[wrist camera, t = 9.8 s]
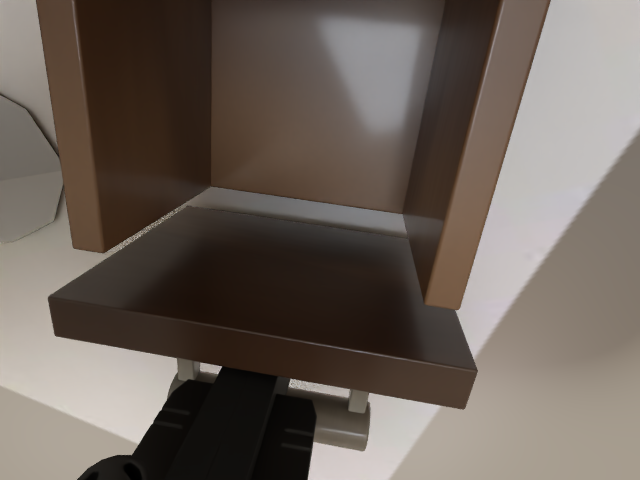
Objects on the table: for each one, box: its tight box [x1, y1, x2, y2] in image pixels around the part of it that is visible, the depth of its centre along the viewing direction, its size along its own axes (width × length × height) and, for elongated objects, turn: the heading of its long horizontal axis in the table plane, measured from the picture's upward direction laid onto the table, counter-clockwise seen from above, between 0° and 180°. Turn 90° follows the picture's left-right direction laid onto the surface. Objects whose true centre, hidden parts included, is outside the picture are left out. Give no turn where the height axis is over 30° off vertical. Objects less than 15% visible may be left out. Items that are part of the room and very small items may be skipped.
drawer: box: [36, 0, 551, 451], centre depth 12 cm, size 18×10×8 cm, turn 174°
